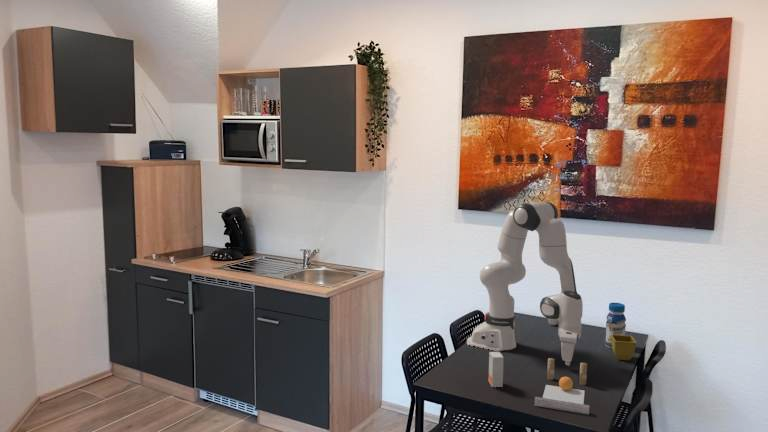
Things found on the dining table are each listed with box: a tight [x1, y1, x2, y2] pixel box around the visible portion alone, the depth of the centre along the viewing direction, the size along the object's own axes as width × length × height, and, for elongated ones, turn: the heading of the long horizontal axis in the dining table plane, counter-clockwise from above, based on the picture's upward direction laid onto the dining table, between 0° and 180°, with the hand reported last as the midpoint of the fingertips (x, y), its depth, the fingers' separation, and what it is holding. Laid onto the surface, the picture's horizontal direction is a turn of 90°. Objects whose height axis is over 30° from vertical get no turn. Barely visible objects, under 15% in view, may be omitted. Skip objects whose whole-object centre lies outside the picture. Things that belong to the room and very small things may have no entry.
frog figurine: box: [547, 318, 559, 326], centre depth 294 cm, size 6×7×7 cm
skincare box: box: [488, 351, 504, 389], centre depth 217 cm, size 6×4×12 cm
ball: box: [558, 376, 574, 391], centre depth 213 cm, size 5×5×5 cm
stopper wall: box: [533, 396, 590, 415], centre depth 197 cm, size 18×2×2 cm, turn 69°
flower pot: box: [611, 335, 637, 361], centre depth 247 cm, size 9×9×9 cm
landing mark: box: [542, 384, 586, 405], centre depth 209 cm, size 14×14×1 cm
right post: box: [578, 362, 588, 386], centre depth 219 cm, size 2×2×8 cm
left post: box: [546, 357, 555, 381], centre depth 223 cm, size 2×2×8 cm
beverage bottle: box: [604, 302, 627, 349], centre depth 261 cm, size 8×8×20 cm
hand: (567, 364), depth 234 cm, fingers closed
